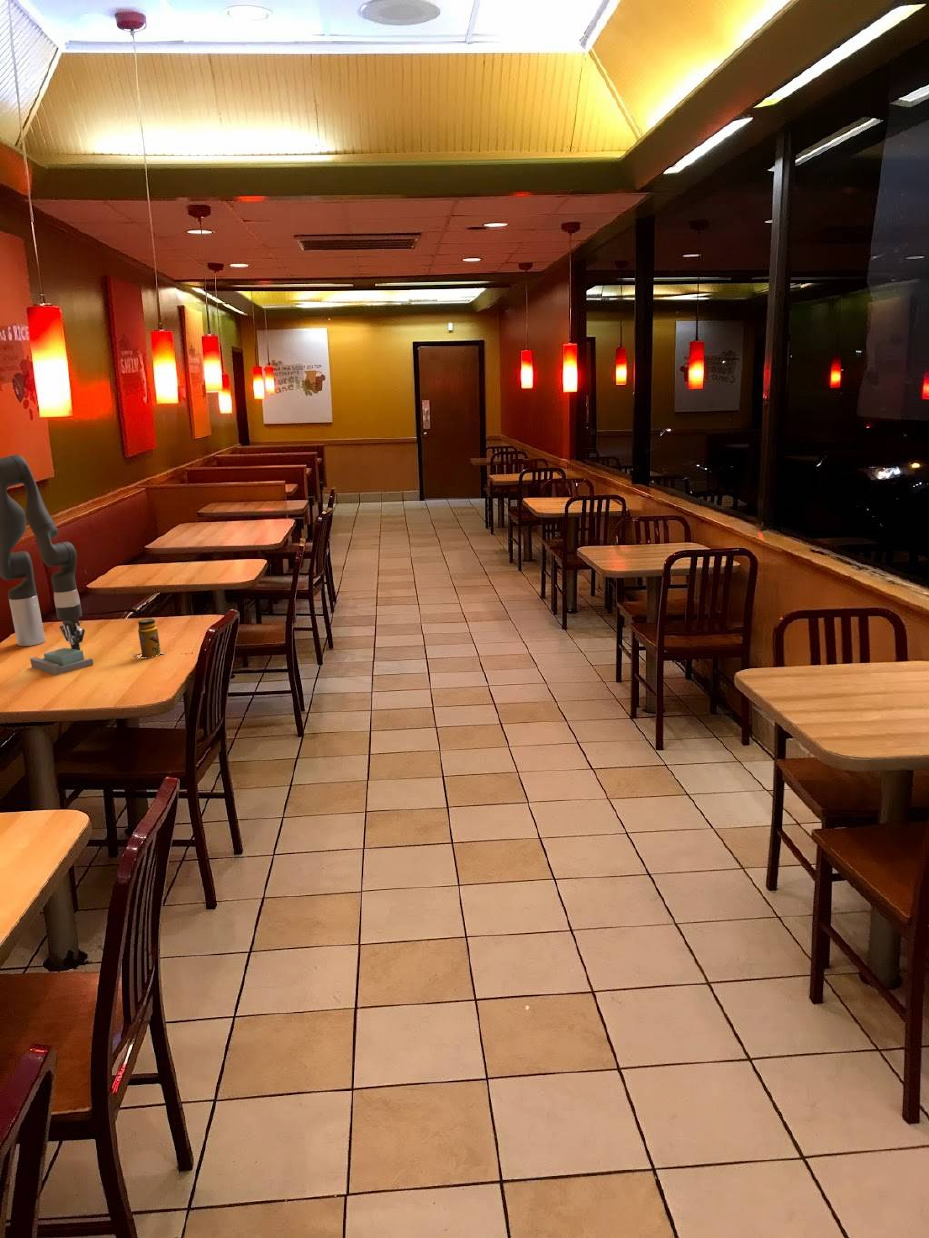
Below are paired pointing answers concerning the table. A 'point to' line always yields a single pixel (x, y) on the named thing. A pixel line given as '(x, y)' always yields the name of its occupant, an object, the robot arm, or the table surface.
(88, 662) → the grey u-shaped bracket
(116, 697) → the table surface
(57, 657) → the carton
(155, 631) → the condiment
